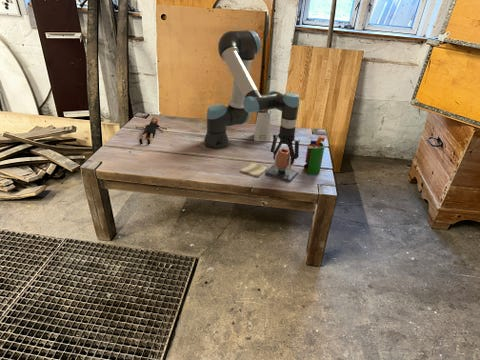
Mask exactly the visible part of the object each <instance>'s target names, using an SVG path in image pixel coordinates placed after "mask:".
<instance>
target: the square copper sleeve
mask: <svg viewBox="0 0 480 360" xmlns="http://www.w3.org/2000/svg"><path fill="white" fill-rule="evenodd" d="M285 152H286V153H285ZM277 153H278V157H277V165H276V167H278V168H281V169H284V170H285V169H286V168H288V165H289V159H290V158H291V156H290V152H289V148H288V149H287V148H284V147H281V148H280V149H279V150H278V152H277Z"/></svg>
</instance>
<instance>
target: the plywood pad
mask: <svg viewBox="0 0 480 360" xmlns="http://www.w3.org/2000/svg"><path fill="white" fill-rule="evenodd" d="M268 169H269V167H267V166H265V165H262V164H258V163H256V162H252V161H249V162H248V163H247V164H246V165H244V166H243V167H242V168H240V170H239V172H241V173H244V174H247V175H250V176H252V177H255V178H260V177H261V176H262V175H263V174H265V172H266V171H267V170H268Z"/></svg>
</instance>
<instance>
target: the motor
mask: <svg viewBox="0 0 480 360" xmlns="http://www.w3.org/2000/svg"><path fill="white" fill-rule="evenodd" d="M325 138H326V137H325V136H322V135H321V136H319V137H317V139H315V140H314V139H313V140H312V139H310V143H309V144H307V148H306V155H305V160H304V162H305V164H303V170H302V171H304V173H306V175H308V176H309V175H310V176H316V175H319V174H320V173H321V169H322V162H323V157H324V151H325V145H326V144H325V143H324V142H325V141H326V140H325Z"/></svg>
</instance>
